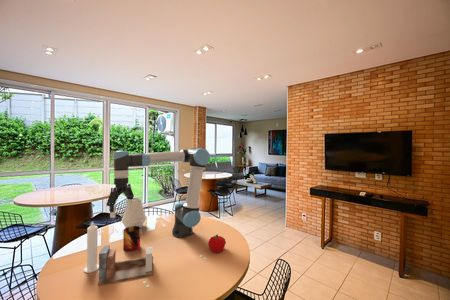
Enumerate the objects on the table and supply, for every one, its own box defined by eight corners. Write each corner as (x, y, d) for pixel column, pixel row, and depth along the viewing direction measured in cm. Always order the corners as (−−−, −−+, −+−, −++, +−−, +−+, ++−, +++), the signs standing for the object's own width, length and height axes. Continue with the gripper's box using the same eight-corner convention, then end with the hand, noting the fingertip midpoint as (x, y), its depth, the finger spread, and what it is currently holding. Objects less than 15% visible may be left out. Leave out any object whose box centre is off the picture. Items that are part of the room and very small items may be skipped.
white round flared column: (82, 274, 100) (82, 224, 100) (85, 266, 106) (86, 220, 106) (98, 271, 103) (99, 222, 103) (101, 263, 109) (101, 218, 109)
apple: (215, 244, 133) (215, 229, 133) (228, 249, 127) (228, 233, 127) (205, 251, 125) (205, 235, 125) (218, 256, 119) (218, 239, 119)
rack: (152, 263, 111) (153, 238, 111) (153, 275, 100) (153, 247, 100) (103, 271, 102) (103, 244, 102) (97, 285, 92) (98, 255, 92)
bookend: (152, 262, 109) (152, 246, 109) (151, 271, 102) (152, 253, 101) (146, 263, 108) (146, 247, 108) (145, 272, 101) (145, 254, 100)
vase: (130, 223, 169) (130, 195, 169) (149, 224, 166) (150, 196, 166) (116, 231, 152) (116, 201, 151) (138, 233, 149) (138, 202, 149)
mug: (138, 253, 121) (139, 233, 121) (119, 250, 124) (119, 231, 124) (148, 245, 130) (149, 227, 130) (130, 243, 133) (130, 225, 133)
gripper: (129, 174, 129) (129, 207, 130) (98, 180, 105) (98, 220, 105) (139, 174, 128) (139, 207, 128) (111, 181, 103) (111, 221, 104)
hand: (121, 213), depth 117 cm, fingers open, 13 cm apart
